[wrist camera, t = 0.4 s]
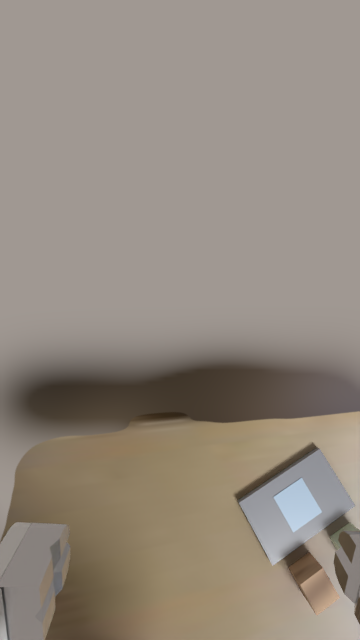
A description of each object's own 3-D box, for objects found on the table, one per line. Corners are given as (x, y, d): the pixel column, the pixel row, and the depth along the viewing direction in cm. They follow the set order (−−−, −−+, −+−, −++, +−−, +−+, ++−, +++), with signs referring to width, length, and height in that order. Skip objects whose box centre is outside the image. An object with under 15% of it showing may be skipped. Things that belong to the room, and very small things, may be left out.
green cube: (364, 547, 54) (383, 563, 49) (344, 562, 53) (362, 580, 48) (349, 522, 55) (366, 535, 50) (329, 536, 54) (344, 551, 49)
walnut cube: (324, 578, 52) (339, 597, 47) (303, 594, 52) (316, 615, 47) (308, 551, 53) (322, 567, 49) (288, 567, 53) (300, 584, 48)
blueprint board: (351, 503, 56) (355, 505, 54) (270, 561, 53) (272, 566, 51) (316, 447, 58) (320, 448, 57) (237, 500, 55) (239, 503, 54)
